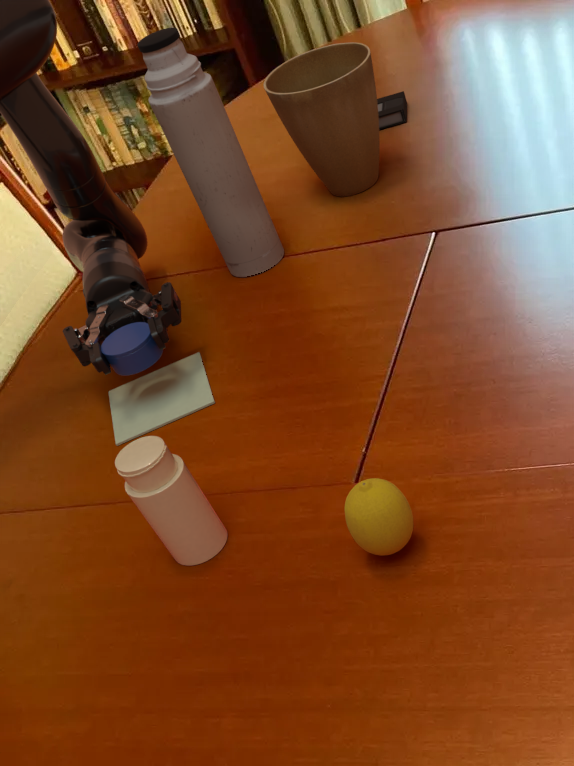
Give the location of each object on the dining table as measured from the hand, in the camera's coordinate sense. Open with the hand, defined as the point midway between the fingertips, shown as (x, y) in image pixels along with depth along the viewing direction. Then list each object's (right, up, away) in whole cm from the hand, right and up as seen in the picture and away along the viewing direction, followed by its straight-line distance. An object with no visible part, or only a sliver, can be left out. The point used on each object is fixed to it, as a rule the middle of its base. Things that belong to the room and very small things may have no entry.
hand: (130, 354), depth 96 cm
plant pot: (+21, +33, +32) cm, 51 cm away
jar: (+11, -22, -12) cm, 27 cm away
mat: (+1, -3, +7) cm, 8 cm away
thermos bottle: (+9, +19, +24) cm, 32 cm away
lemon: (+30, -23, -19) cm, 42 cm away
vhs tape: (+21, +49, +46) cm, 70 cm away
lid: (-1, +2, +2) cm, 3 cm away
